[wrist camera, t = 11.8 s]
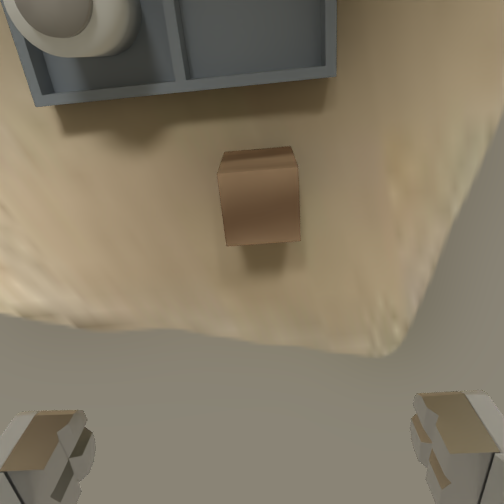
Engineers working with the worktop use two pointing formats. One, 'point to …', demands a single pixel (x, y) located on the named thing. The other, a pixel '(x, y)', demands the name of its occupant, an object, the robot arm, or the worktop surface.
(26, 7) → the salt pot
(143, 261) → the worktop surface
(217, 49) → the tray
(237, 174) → the walnut block
